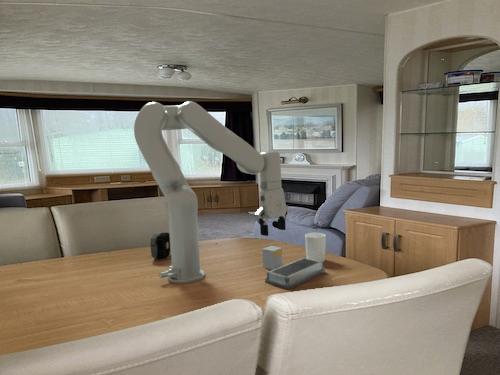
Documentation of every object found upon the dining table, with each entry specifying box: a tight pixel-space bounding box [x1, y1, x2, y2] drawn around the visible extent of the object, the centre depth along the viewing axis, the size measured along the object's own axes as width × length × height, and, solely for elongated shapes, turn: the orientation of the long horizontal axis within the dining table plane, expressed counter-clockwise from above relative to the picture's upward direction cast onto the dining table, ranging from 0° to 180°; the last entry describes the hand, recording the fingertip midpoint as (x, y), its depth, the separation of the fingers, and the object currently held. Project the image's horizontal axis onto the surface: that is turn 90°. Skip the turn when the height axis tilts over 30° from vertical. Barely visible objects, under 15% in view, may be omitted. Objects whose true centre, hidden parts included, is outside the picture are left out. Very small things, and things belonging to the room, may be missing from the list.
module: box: [262, 245, 283, 271], centre depth 132 cm, size 5×5×7 cm
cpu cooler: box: [149, 232, 171, 260], centre depth 148 cm, size 10×6×10 cm, turn 178°
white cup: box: [304, 232, 327, 263], centre depth 138 cm, size 8×8×10 cm
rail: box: [264, 257, 326, 290], centre depth 122 cm, size 20×10×4 cm, turn 136°
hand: (273, 232), depth 132 cm, fingers open, 9 cm apart
